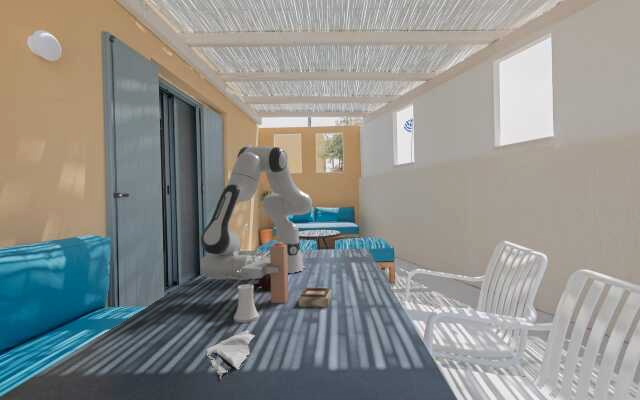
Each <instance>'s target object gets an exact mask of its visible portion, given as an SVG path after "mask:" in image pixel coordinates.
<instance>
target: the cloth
mask: <svg viewBox="0 0 640 400" xmlns="http://www.w3.org/2000/svg"><path fill="white" fill-rule="evenodd" d="M255 337H256V335H254V334H251V333H250V332H249V330H245V331H242V332H239V333H238V334H235V335H232V336H230V337H229V338H227V339H224V340H221V341H219V343H217V344H214V345H213V346H210V347H209V348H207V349H206V350H205V351H206V357H207V356H208V355H209V356H208V357H209V358H210V359H213V360H211V361H210V360H209V361H210V362H211V363H212V365H211V367H212V368H213V367H214V368H215V369H216V370H218V371H216V370H215V369H214V368H213V369H214V370H215V371H216V372H217V373H218V374H219V375H220V376H219V379H220V380H221V379H222V376H223V375H224V374H225V373H229V372H228V370H227V371H226V370H225V369H224V368H223V367H222V366H220V365H219V364H218V365H219V366H218V365H217V364H216V362H218V361H216V360H215V358H213V357H211V356H210V355H213V354H215V355H220V357H222V358H223V360H224V361H225V362H226V363H228V364H229V365H230V366H232V367H233V368H235V369H236V370H237V371H239V370H240V368H241V367H240V365H241V363H242V362H243V361H244V360H245V359H246V358H247V359H248V357H246V356H247V355H249V354H250V355H251V353H250V348H249V344H250V343H251V342H252V340H253V339H254V338H255ZM250 355H249V356H250ZM247 359H246V360H247ZM210 362H209V363H210ZM211 363H210V364H211ZM241 366H242V365H241ZM239 367H240V368H239ZM238 369H239V370H238ZM217 373H216V374H217ZM218 374H217V375H218Z"/></svg>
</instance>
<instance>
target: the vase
mask: <svg viewBox="0 0 640 400" xmlns="http://www.w3.org/2000/svg"><path fill="white" fill-rule="evenodd" d="M254 289H255V288H254V285H253V284H250V283H249V284H241V285H238V286H237V291H238V292H237V293H238V302H237V303H238V304H237V308H236V312H235V314H234V315H233V320H234V322H237V323H251V322H254V321H257V320H258V319H259V317H260V316H259V315H260V314H259V312H258V311H257V309H256V304H255V302H254Z"/></svg>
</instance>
